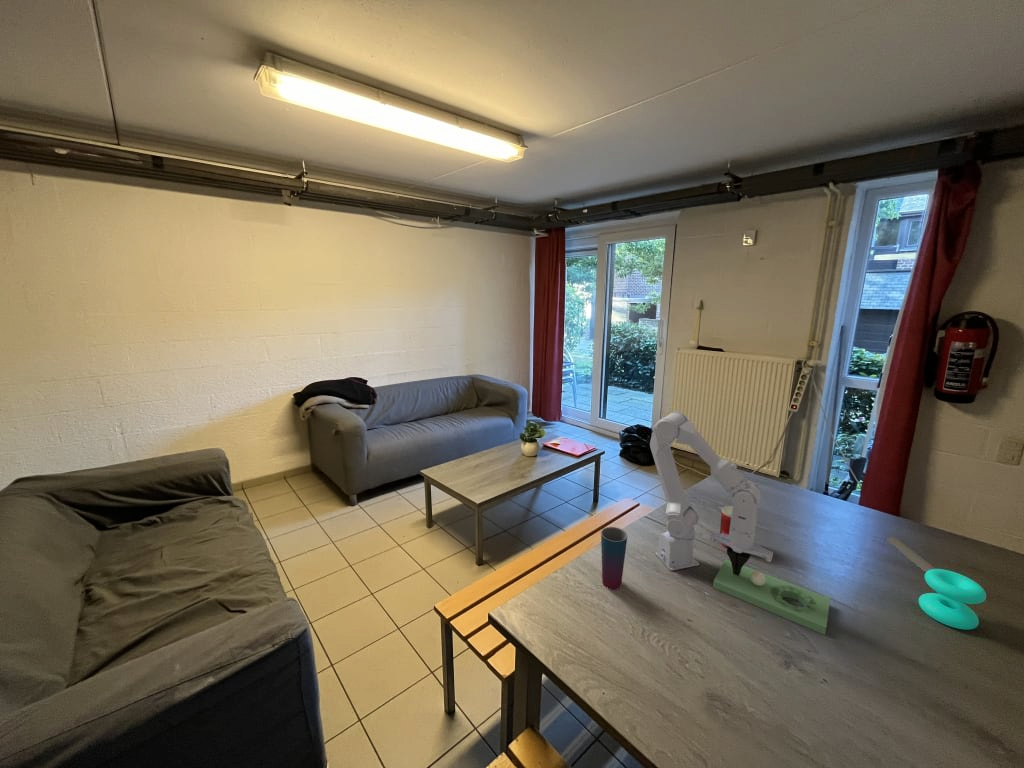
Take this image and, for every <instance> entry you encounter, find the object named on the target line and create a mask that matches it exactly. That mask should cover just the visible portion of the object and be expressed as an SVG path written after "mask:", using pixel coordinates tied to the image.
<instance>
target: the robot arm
mask: <svg viewBox="0 0 1024 768" xmlns="http://www.w3.org/2000/svg"><path fill="white" fill-rule="evenodd" d="M651 430H652V433H651V438H650V443H649V447H650V451H651V454H652V458H653V460H654V464H655V467H656V471H657V474H658V477H659V480H660V483H661V486H662V490H663V493H664V497H665V499H666V503H667V504H666V510H665V517H666V522H665V523H666V524H665V526H666V530H667V531H665V532H663V533H661V534H660V535H659V536H658V539H657V551H656V552H655V556H656V557H658V559H660V561H661V562H662V563H663V564H664V565H665V566H666V567H667V568H668V569H669V570H670V571H676V570H681V569H685V568H687V569H688V568H692V567H693V568H694V567H697V566H700V563H699V562H698V561H697V560H696V559H695V558H694V548H695V538H696V531H695V528H694V526H696V525H697V524H698V522H699V519H700V518H699V514H698V512H697V511H696V509H695V508H694V507H693V505H692V501H690V500H689V499H687V497H686V494H685V491H684V488H683V485H682V481H681V478H680V475H679V471H678V469H677V465H676V462H675V458H674V455H673V451H672V449H671V445H672V444H673V443H676V444H682V445H688V447H690V448H691V449H692V450H693V451H694V452H695V454H697V456H699V457H700V458H701V459H702V461H704V462H705V463H706V464H707V465H708V466H709V467H710V475H711V476H712V477H713V478H714V479H715V480H716V481H717V482H718V483H719V485H720V486H721V487H722V488H723V489H724V490H725V492H727V493H728V495H730V501H731V504H732V506H733V509H732V515H731V523H730V531H729V535H726V534H721V533H720V532H715V531H711V533H710V534H709V535H710V536H709V541H710V542H714V543H715V542H716V543H719V544H721V543H722V544H725V545H727V546H728V548H727V549H726V554H727V556H728V558H729V560H730V561H731V564H732V568H733V574H735V575H737V576H739V574H740V572H741V568H742V567H743V566H745V564H747V562H748V561H749V559H750V557H751V555H753V556H756V557H759V558H760V559H761V558H762V559H764V560H765V561H767V562H769V563H771V562H772V560H773V555H774V551H771V550H768V549H767V548H764V547H762V546H761V545H759V544H756V543H754V540H755V535H756V534H755V533H756V527H757V518H758V507H759V506H758V504H759V502H760V501H761V497H762V491H761V489H760V487H758V485H757V484H756V483H754V481H753V482H752V481H750V480H749V479H746V477H744V475H742V473H740V471H739V470H738V469H737V468H738V466H737V465H736V463H731V462H730V461H729V460H728V459H724V458H721V457H720V456H719V455H718V453H717V452H716V451H715V450H714V448H712V446H711V445H710V444H709V443H708V442H707V440H706V439H705V438H704V437H703V436H702V434H701V433H700V432H699V431H698V429H697V427H696V426H695V423H694V422H692V421H691V420H690V419H688V417H687V416H686V415H685V414H684V413H682V412H680V411H672V412H670V413H668V415H666V416H665V417H663V418H661V419H659V420H658V421H657V422H656V423H654V425H653V426H652V427H651ZM722 544H721V545H722Z"/></svg>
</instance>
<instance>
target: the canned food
mask: <svg viewBox="0 0 1024 768" xmlns="http://www.w3.org/2000/svg"><path fill="white" fill-rule="evenodd" d="M732 509H733V505H727V506H723V507H722V508H721V516H720V517H721V518H720V525H719V528H720V529H719V533H721V534H726V535H729V531H730V523H731V515H732ZM720 544H721V545H722V546H724V547H725V548H727V549H728V546H727V545H725V544H722V543H720Z"/></svg>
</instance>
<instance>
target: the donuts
mask: <svg viewBox="0 0 1024 768" xmlns="http://www.w3.org/2000/svg"><path fill="white" fill-rule="evenodd" d="M924 581H925V582H926V584H927V586H929V587H930V588H931V589H932V590H933V591H935V592H936V593H935V592H927V593H924V594H921V595H920V596H919V598H918V605H919V607H920V608H921V610H922V611H923V612H924V613H925V614H926V615H927V616H929V617H930V618H932V619H933V620H935V621H937V622H940V623H941V624H943V625H946V626H948V627H951V628H955V629H959V630H966V631H968V630H974V629H976V628H977V627H978V626H979V625H980V624H979V623H980V620H979V617H978V615H977V614H976V613H975V611H974V610H973V609H971V607H969V606H968V605H966V604H969V605H974V604H975V605H977V604H982V603H983V602H984V601H986V599H987V592H986V591H985V589H984V588H983V587H982V586H981V585H980V584H979V583H977V581H975V580H973V579H971V578H969V577H967V576H965V575H963V574H960V573H958V572H955V571H952V570H947V569H943V568H942V569H941V568H936V569H931V570H928V571H927V572H926V573H925V572H924Z"/></svg>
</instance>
